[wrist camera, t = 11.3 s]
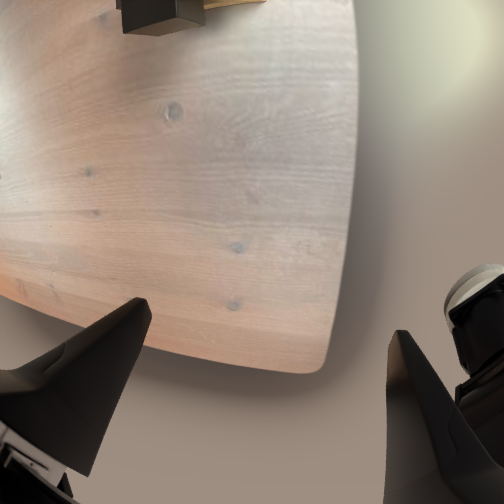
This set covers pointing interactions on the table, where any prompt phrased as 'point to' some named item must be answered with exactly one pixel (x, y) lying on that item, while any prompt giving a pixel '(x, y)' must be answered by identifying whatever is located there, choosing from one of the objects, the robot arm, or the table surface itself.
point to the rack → (211, 3)
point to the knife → (161, 16)
